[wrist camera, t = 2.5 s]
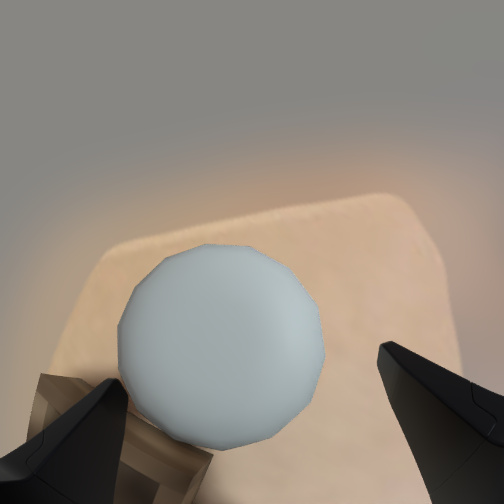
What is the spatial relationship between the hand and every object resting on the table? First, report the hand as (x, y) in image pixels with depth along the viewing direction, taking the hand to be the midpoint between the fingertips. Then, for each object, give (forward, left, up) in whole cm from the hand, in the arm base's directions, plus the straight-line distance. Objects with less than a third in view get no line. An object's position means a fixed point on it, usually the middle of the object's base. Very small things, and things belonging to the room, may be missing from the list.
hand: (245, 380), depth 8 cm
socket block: (-14, +2, -8) cm, 16 cm away
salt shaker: (0, +1, -9) cm, 9 cm away
